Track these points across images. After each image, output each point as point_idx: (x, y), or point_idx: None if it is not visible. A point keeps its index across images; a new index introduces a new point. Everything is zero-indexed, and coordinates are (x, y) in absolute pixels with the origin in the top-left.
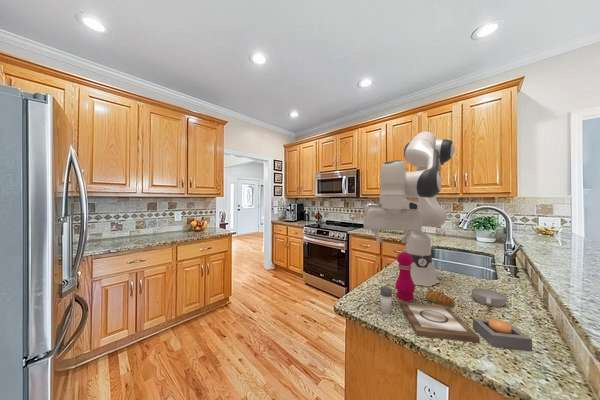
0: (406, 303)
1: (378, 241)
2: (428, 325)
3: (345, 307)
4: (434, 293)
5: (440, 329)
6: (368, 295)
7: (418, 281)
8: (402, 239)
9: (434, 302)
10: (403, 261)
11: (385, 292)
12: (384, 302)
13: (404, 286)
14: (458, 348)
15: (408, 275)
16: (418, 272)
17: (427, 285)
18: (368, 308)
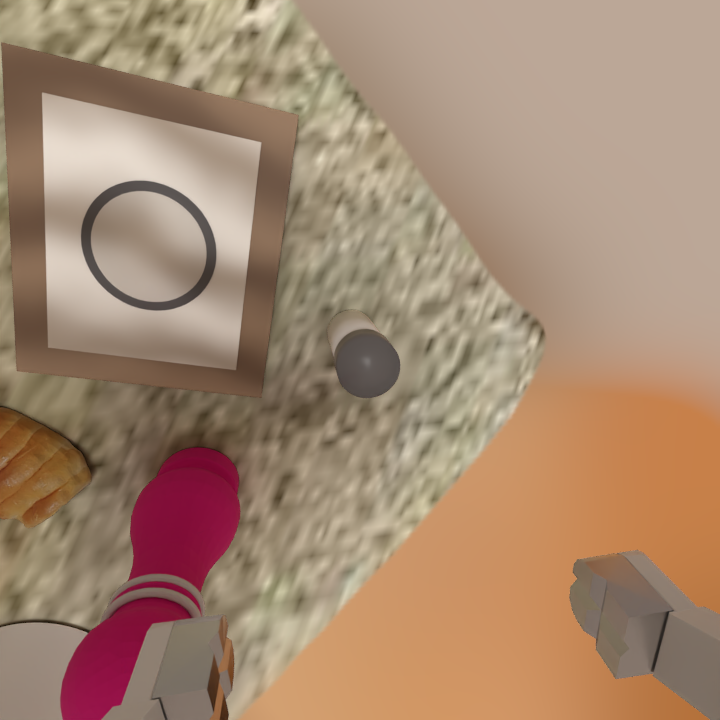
0: (233, 384)
1: (643, 556)
2: (222, 154)
3: (517, 358)
4: (31, 479)
5: (175, 122)
6: (374, 484)
7: (52, 649)
8: (220, 700)
9: (61, 438)
10: None
11: (381, 336)
12: (374, 326)
13: (203, 489)
14: (152, 9)
15: (155, 549)
16: (21, 707)
17: (10, 629)
18: (420, 356)
